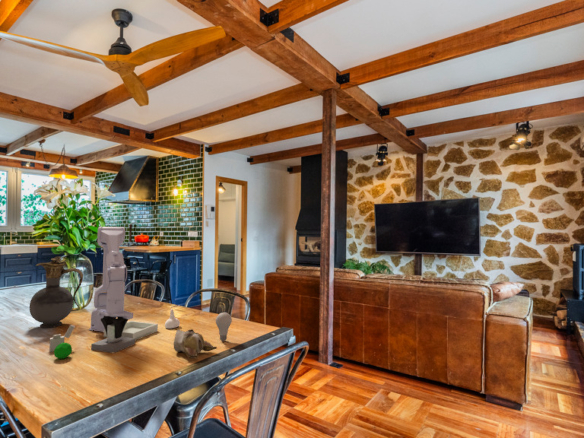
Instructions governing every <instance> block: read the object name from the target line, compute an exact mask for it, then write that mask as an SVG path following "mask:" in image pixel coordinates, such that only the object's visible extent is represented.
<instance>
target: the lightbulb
mask: <svg viewBox="0 0 584 438" xmlns="http://www.w3.org/2000/svg"><path fill="white" fill-rule="evenodd" d="M232 320H233V318H232V316H231V315H230V314H229V313H228V312H226V311H225V312H220V313H219V314H218V315H217V316H216V318H215V325H216V327H217V328H218V333H219V334H218V335H219V340H220V341H221V342H225V341H226V340H227V337H228V332H229V328H230V326H231V324H232V322H233V321H232Z"/></svg>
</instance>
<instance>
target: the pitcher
mask: <svg viewBox="0 0 584 438" xmlns="http://www.w3.org/2000/svg"><path fill="white" fill-rule="evenodd" d="M50 260H51V261H49V262H39V263H37V264H36V265H35V266H36V267H37V266H41V267H43V269H44V270H45V279H46V280H45V287H43V288H42V289H39V290H38V291H36V292H35V293H34V294H33V296H32V298H31V299H30V302H29V306H28V307H29V314H30V316H31V317H32V318H33V319H34V321H36V322H38V323H41V324H40V325H39V328H41V329H49V328H51V329H52V328H57V327H60V326H62V325H63V320H64V319H66V318H67V317H69V315H70V314H71V312H72V311H73V308H74V304H75V306H77V308H78V309H79V308H80V306H79V304H78V303H77V301H76V295H77V292H78V291H79V289H80V287H81V285H82V283H83V280H84V274H83V272H82V270H81V269H79V268H77V267H76V268H75V267H71V268H67V269H66V268H64V266H65V265H66V264H67V262H68V260H63V261H62V257H61V256H55V257H54V258H53V257H52V258H51V259H50ZM61 261H62V262H61ZM71 272H73V273H77V274H78V275H79V281H78V284H77V287H76V288H75V291H74V292H73V295H72V293H71V291H70V290H69V289H67V288H65V287H62V286H61V284H60V283H61V277H62V275H64V274H68V273H71Z"/></svg>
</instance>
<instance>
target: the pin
mask: <svg viewBox="0 0 584 438" xmlns="http://www.w3.org/2000/svg"><path fill="white" fill-rule="evenodd" d="M120 341H121V337H120V338H117V339H116V338H115V327H114V323H113V324H110V325H108V327H107V343H112V344H115V343H117V342H120Z"/></svg>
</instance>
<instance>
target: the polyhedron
mask: <svg viewBox="0 0 584 438" xmlns="http://www.w3.org/2000/svg"><path fill="white" fill-rule="evenodd" d="M72 351H73V348H72V345H71V344H70V343H68V342H64V343H61V344H59V345H58V346H56V348H55V350H54V351H53V355H54V357H55V358H57V359H59V360H62V359H63V360H64V359H65V358H68V357H69V356H70V355H71V354H72Z"/></svg>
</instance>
